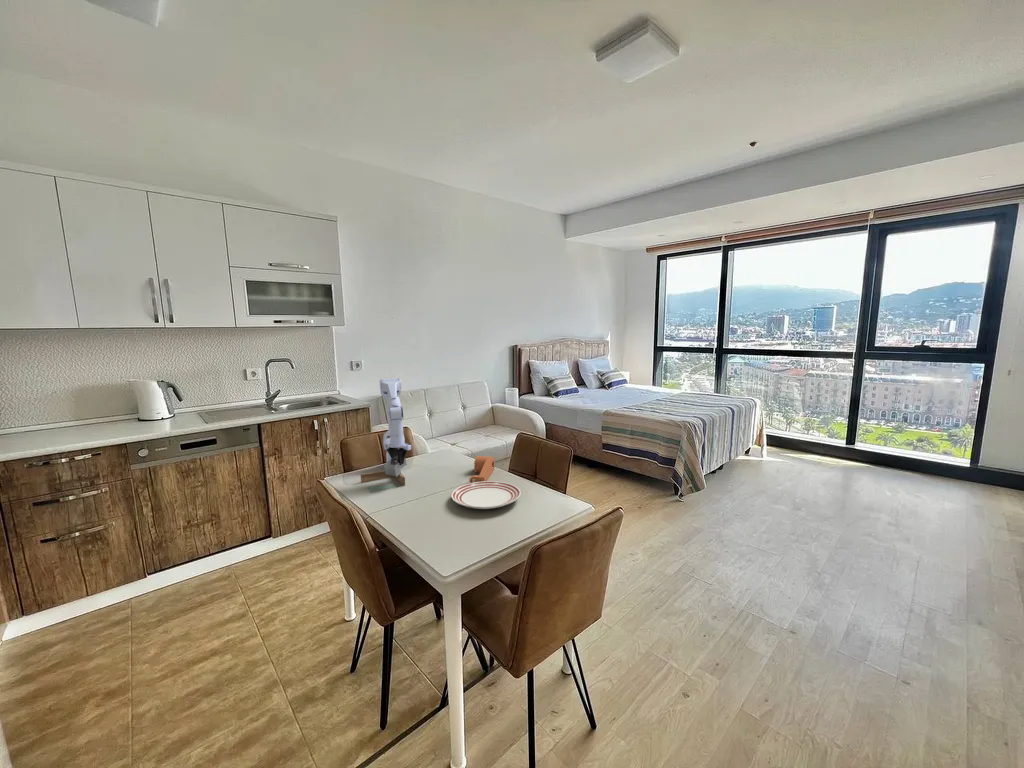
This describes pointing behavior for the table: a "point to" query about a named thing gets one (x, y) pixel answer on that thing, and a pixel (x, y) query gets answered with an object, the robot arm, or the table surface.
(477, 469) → the crank
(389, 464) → the bracket
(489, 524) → the table surface
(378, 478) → the brown wooden l-shaped piece
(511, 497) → the dinner plate
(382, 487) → the pad
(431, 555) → the table surface
